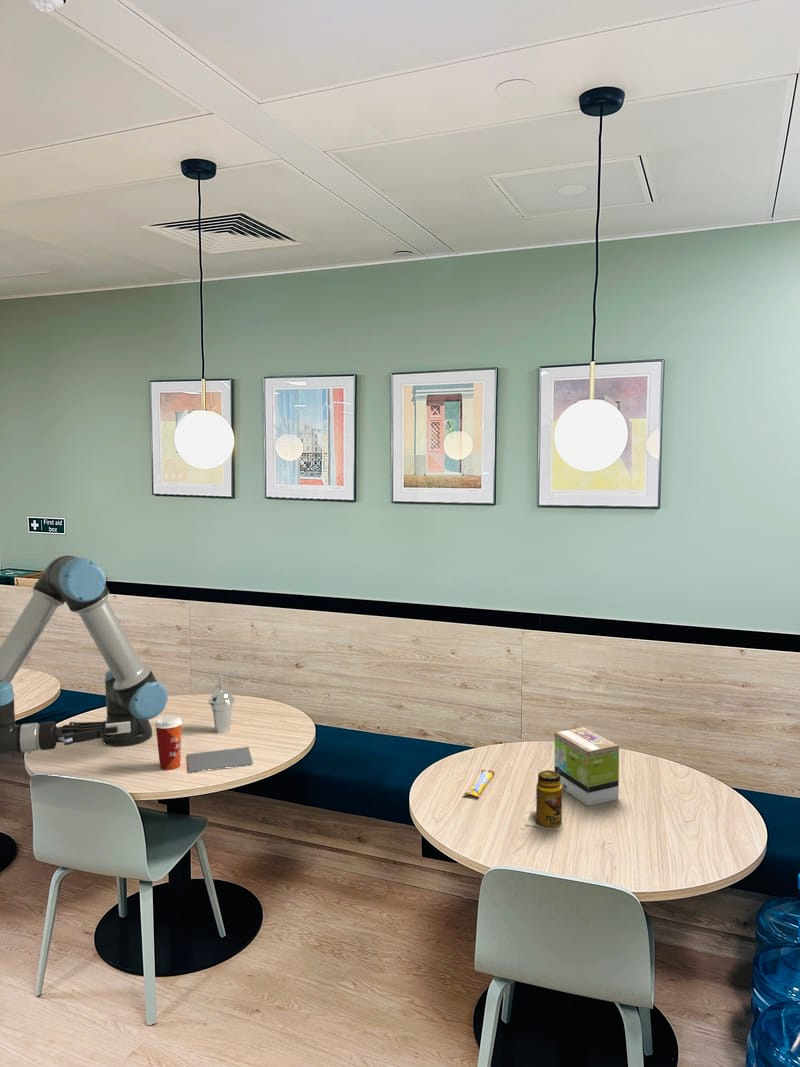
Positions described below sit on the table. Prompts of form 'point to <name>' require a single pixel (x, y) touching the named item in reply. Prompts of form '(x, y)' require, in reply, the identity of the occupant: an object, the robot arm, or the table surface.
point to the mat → (219, 759)
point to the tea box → (587, 765)
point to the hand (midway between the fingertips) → (130, 726)
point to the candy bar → (480, 783)
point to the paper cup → (169, 741)
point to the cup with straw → (222, 707)
